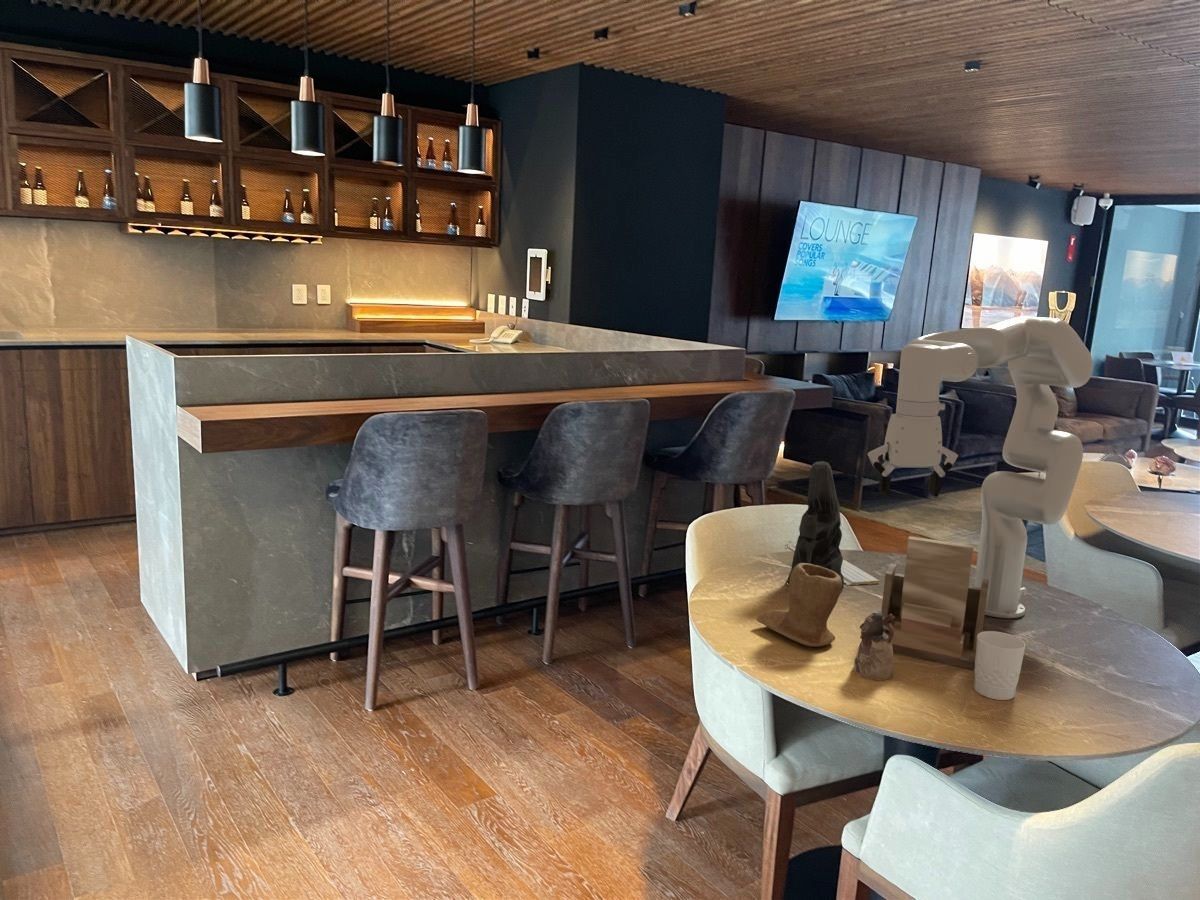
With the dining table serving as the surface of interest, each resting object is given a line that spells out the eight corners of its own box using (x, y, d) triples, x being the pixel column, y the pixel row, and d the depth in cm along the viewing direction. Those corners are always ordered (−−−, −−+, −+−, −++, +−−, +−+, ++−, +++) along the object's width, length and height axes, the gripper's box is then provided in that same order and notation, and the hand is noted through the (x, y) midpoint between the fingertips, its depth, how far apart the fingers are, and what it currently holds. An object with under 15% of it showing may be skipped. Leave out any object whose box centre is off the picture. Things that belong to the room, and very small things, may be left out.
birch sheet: (899, 629, 181) (909, 536, 178) (961, 641, 176) (973, 545, 172) (898, 632, 180) (908, 538, 176) (960, 644, 175) (973, 548, 171)
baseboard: (842, 588, 211) (878, 586, 214) (843, 577, 210) (880, 575, 213) (783, 550, 239) (816, 548, 242) (784, 540, 239) (817, 538, 241)
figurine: (860, 660, 169) (866, 601, 167) (897, 671, 165) (904, 610, 163) (847, 673, 163) (853, 612, 161) (885, 684, 159) (892, 622, 157)
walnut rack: (883, 626, 187) (890, 563, 184) (980, 645, 179) (989, 579, 176) (873, 648, 175) (880, 581, 172) (976, 670, 167) (985, 600, 164)
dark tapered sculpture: (775, 577, 215) (785, 457, 210) (825, 574, 219) (836, 456, 213) (802, 597, 202) (813, 470, 197) (855, 593, 206) (868, 468, 200)
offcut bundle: (894, 635, 178) (897, 600, 177) (962, 648, 173) (967, 612, 171) (890, 643, 174) (894, 608, 172) (961, 658, 168) (965, 621, 167)
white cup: (995, 705, 153) (1002, 651, 151) (960, 685, 160) (967, 634, 158) (1028, 698, 156) (1035, 645, 154) (992, 679, 163) (999, 628, 161)
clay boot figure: (849, 643, 177) (856, 572, 174) (806, 655, 171) (813, 581, 168) (795, 618, 190) (801, 551, 187) (754, 627, 183) (759, 559, 180)
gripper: (953, 406, 173) (944, 490, 176) (866, 405, 172) (859, 489, 176) (969, 412, 165) (960, 500, 169) (878, 411, 165) (871, 499, 168)
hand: (909, 494), depth 172 cm, fingers open, 9 cm apart
